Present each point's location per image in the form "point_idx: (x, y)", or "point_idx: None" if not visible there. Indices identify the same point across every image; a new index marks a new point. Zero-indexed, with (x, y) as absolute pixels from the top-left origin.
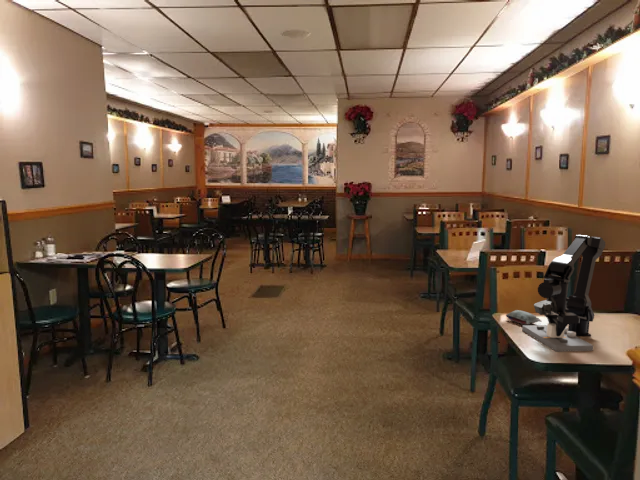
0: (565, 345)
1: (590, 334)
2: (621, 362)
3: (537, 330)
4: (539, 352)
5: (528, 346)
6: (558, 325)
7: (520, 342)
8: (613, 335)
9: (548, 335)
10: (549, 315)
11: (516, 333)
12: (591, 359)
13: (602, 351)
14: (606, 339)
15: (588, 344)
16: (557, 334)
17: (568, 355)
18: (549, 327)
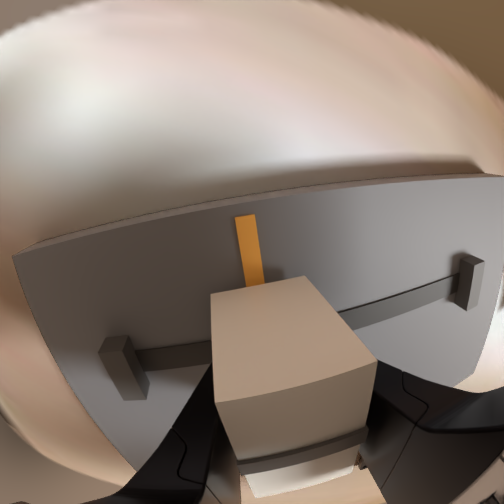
0: (50, 339)
1: (360, 469)
2: (45, 452)
3: (445, 242)
4: (10, 110)
5: (125, 44)
6: (140, 474)
7: (229, 10)
8: (348, 495)
9: (270, 285)
10: (474, 473)
11: (440, 94)
12: (9, 382)
13: None
14: (313, 491)
15: (142, 462)
16: (205, 374)
17: (3, 298)
18: (288, 348)
